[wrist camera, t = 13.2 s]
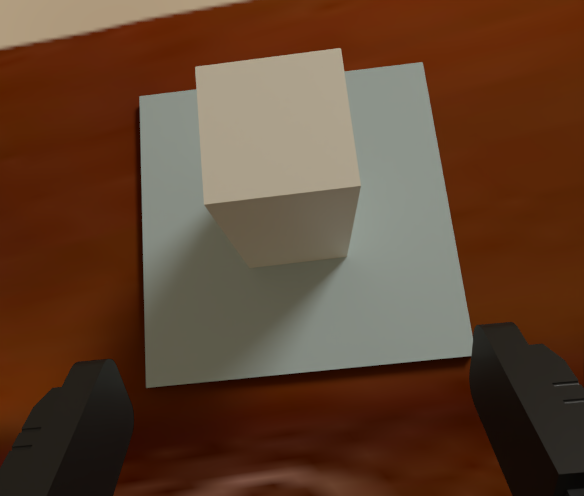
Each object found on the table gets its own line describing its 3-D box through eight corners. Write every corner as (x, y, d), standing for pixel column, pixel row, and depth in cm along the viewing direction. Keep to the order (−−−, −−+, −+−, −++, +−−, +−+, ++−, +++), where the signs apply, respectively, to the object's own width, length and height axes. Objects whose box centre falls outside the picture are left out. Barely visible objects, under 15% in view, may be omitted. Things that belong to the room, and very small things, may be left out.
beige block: (334, 166, 27) (341, 48, 17) (346, 256, 25) (360, 185, 16) (241, 177, 27) (195, 67, 17) (249, 268, 26) (203, 204, 16)
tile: (420, 68, 28) (422, 62, 28) (472, 355, 24) (475, 355, 24) (143, 102, 29) (139, 96, 28) (150, 387, 25) (146, 388, 24)
